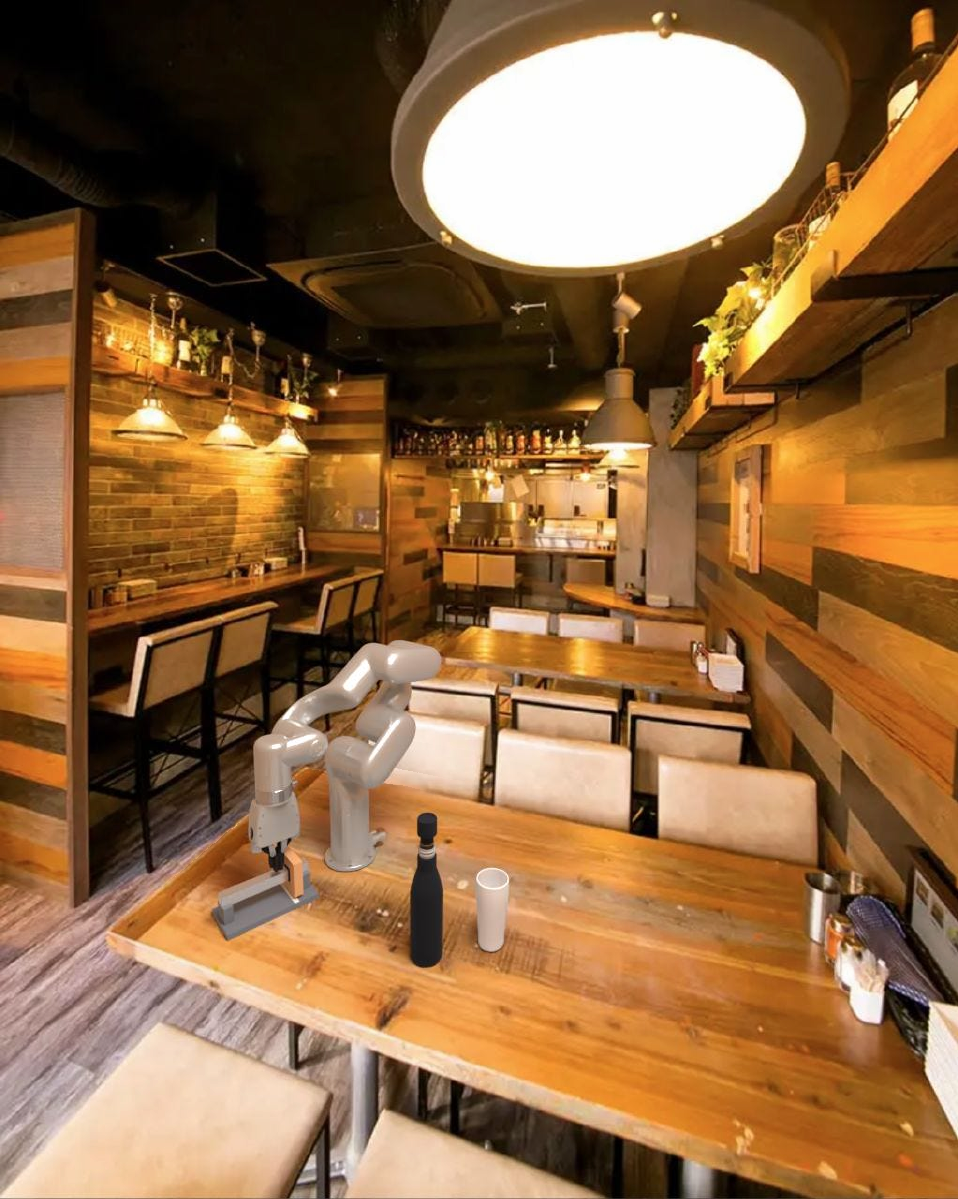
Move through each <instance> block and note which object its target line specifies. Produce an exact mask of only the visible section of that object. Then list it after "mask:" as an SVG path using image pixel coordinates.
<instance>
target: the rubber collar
mask: <svg viewBox="0 0 958 1199" xmlns="http://www.w3.org/2000/svg"><path fill="white" fill-rule="evenodd" d="M283 864H286V865H287V866H288V867H289V869H290V881H286V882H283V883H284V884H285V886H286V887H287V888H288V889H289V891H290V892H291V893H292V894H293V896H294V897H297V896H300V895H302V894H304V891H303V863H302V860H301V859H300V857H299V856H298V855H297V854H296V853H295V852H294V850H293V849H292V848H291V847H290V846H289V845H288V846H287V848H286V851H285V852H284V863H283Z"/></svg>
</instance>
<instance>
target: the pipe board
mask: <svg viewBox="0 0 958 1199" xmlns="http://www.w3.org/2000/svg"><path fill="white" fill-rule="evenodd" d="M303 891H304V894H302V895H300V896H297V897H294V896H293V894H292V893H291V892H290V891H289V889H288V888H287V887H286V886H285V884H284V883H281V884H279V885H276V886H274V887H272V888H269V889H267V890H265V891H263V892H260V893H258V894H256V895H253V896H251V897H249V898H246V899H244V900H242V901H239V902H237V903H235V904H233V905H230V906H228V907H226V908H223V909H222V907H221V905H220V904H219V900H218V901H217V906H215V907H213V908H211V914H212V917H213V918H214V920H215V922H216V923H217V926H219V929H220V931H221V933H222V934H223V936H224V937H225V939H226V940H227V941H230V940H233V939H234V938H235V939H236V938H237V937H239V936H240V935H243V934H245V933H247V932H250V931H251V930H254V929H256V928H258V927H260V926H263V925H264V924H266V923H268V922H270V921H273V920H275V919H277V918H279V917H281V916H283V915H285V914H288V913H290V912H292V911H295V910H296V909H298V908H300V907H302V906H305V905H306V904H309V903H311V902H313V901H316V900H317V899H319V896H320V894H319V893H320V892H319V891H317V889H315V887H314V886H313V885H312V884H311V873H310V871H309V872H306V873H304V874H303Z"/></svg>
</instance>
